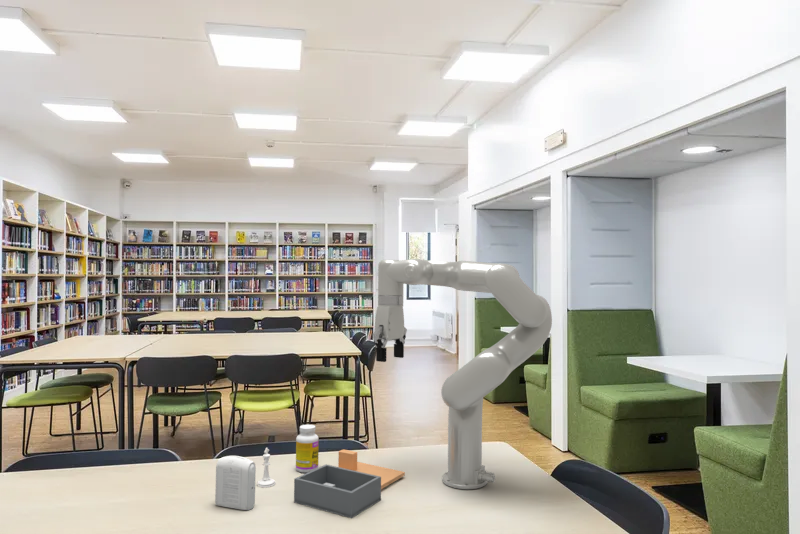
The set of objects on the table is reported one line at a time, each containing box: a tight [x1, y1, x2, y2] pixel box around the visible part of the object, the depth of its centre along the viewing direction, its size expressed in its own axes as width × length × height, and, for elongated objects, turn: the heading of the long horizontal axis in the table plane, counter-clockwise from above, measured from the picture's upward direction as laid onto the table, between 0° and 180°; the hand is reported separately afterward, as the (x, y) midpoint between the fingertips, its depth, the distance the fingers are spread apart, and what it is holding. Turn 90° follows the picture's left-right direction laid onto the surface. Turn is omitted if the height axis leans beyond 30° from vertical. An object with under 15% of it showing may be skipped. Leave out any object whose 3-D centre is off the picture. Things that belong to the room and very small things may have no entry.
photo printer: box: [214, 455, 257, 511], centre depth 142 cm, size 10×4×12 cm, turn 72°
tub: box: [293, 463, 382, 519], centre depth 146 cm, size 18×13×6 cm
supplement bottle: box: [295, 424, 320, 474], centre depth 169 cm, size 7×7×13 cm
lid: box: [337, 449, 406, 490], centre depth 162 cm, size 19×14×7 cm
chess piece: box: [256, 447, 276, 488], centre depth 157 cm, size 5×5×10 cm
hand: (390, 359), depth 168 cm, fingers open, 9 cm apart
